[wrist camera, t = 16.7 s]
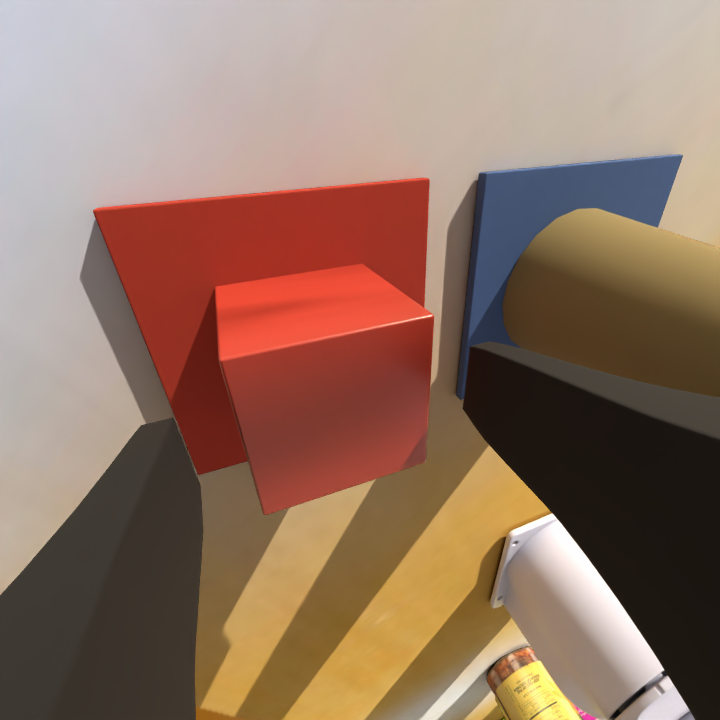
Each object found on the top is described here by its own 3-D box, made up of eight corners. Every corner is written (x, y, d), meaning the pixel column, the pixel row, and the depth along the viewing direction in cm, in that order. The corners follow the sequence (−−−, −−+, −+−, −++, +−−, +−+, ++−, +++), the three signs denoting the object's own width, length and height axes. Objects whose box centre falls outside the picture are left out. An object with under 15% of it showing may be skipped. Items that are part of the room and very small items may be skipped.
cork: (497, 368, 16) (869, 645, 7) (509, 225, 13) (1227, 402, 4) (604, 330, 17) (1030, 522, 8) (640, 193, 14) (1394, 267, 5)
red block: (368, 380, 14) (426, 463, 10) (247, 410, 13) (263, 517, 9) (362, 262, 12) (435, 314, 8) (213, 285, 10) (217, 360, 7)
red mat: (416, 406, 16) (420, 412, 16) (198, 467, 14) (198, 475, 13) (423, 177, 11) (430, 178, 11) (96, 207, 9) (91, 210, 9)
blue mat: (605, 353, 19) (612, 356, 19) (455, 395, 16) (460, 400, 16) (673, 154, 14) (684, 154, 14) (478, 172, 12) (485, 172, 12)
